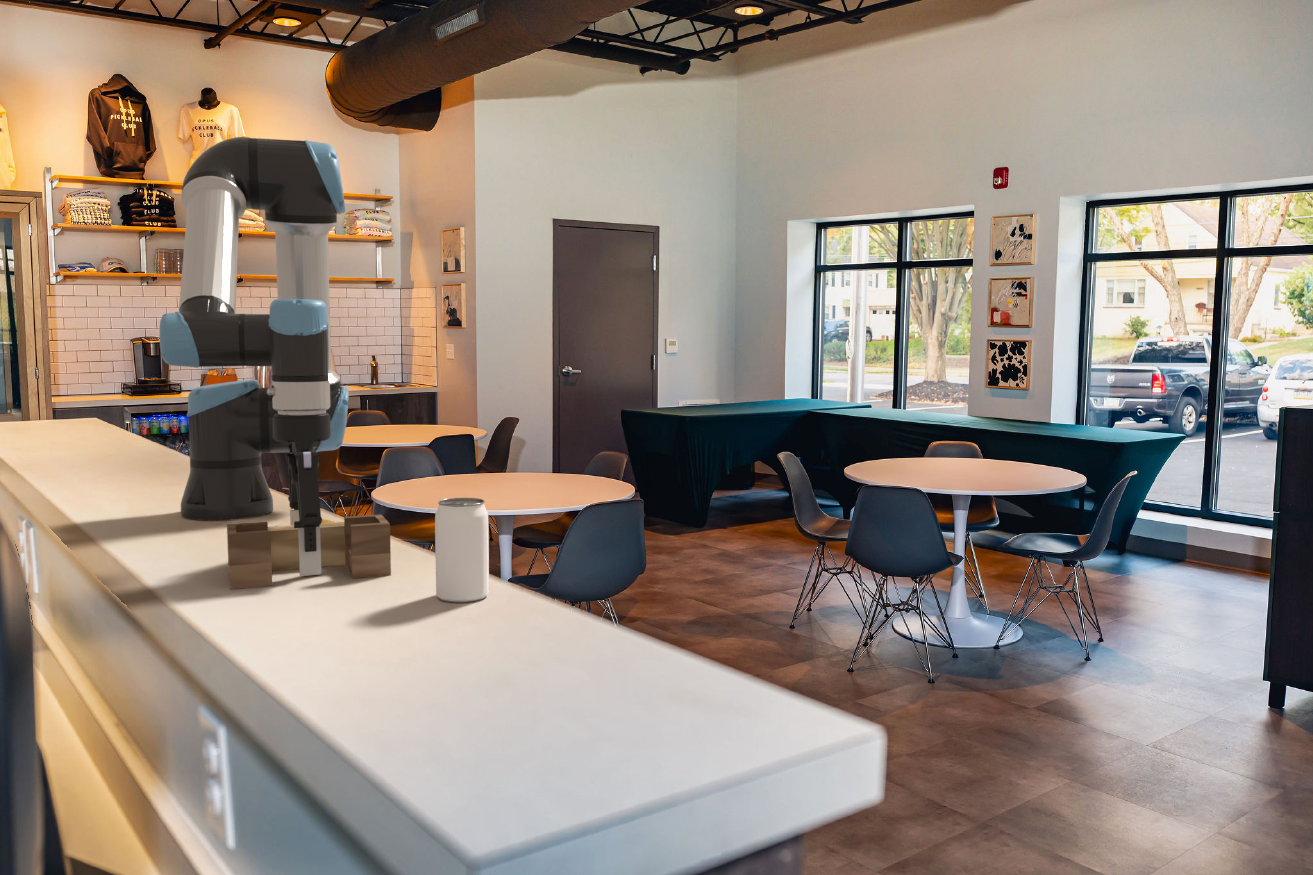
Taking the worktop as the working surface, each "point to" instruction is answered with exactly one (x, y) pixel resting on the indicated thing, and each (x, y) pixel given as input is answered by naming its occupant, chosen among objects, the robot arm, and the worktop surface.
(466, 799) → the worktop surface
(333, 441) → the robot arm
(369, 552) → the post
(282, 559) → the rail
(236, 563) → the post
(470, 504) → the can
